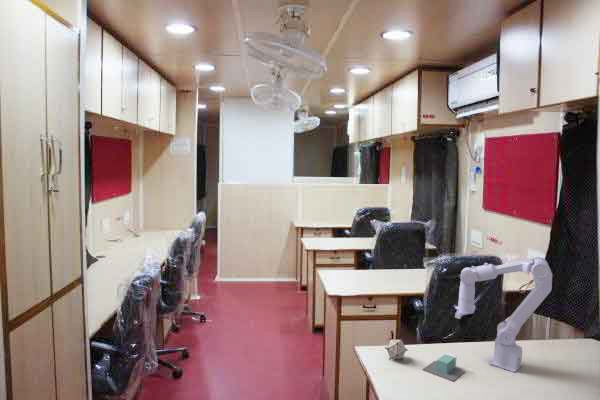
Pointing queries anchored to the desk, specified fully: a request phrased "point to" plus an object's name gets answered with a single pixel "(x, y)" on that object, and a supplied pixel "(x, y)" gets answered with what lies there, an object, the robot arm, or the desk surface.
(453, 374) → the pad
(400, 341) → the game die
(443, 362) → the teal block
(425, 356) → the desk surface
